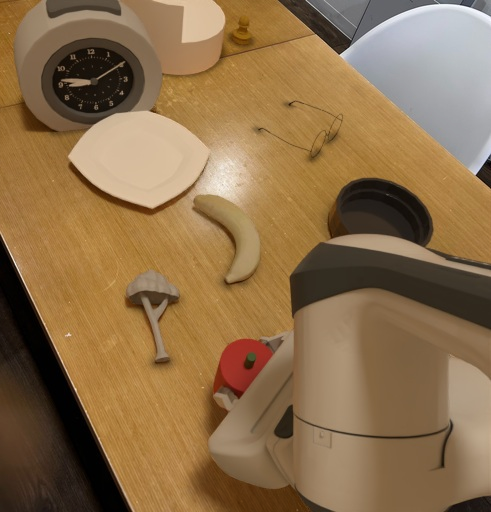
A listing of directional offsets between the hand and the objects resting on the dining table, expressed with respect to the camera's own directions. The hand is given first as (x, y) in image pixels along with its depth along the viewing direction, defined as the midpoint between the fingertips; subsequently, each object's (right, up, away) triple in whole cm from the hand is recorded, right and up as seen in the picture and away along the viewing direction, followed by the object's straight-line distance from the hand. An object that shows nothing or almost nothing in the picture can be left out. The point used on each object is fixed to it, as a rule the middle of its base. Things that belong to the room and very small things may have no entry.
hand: (240, 370), depth 53 cm
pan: (+21, +16, +25) cm, 37 cm away
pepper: (0, -3, +4) cm, 5 cm away
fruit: (-3, +15, +20) cm, 25 cm away
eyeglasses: (+10, +35, +37) cm, 52 cm away
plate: (-16, +27, +26) cm, 41 cm away
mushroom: (-11, +4, +10) cm, 15 cm away
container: (-14, +55, +46) cm, 73 cm away
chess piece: (0, +58, +52) cm, 78 cm away
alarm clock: (-25, +37, +31) cm, 54 cm away
